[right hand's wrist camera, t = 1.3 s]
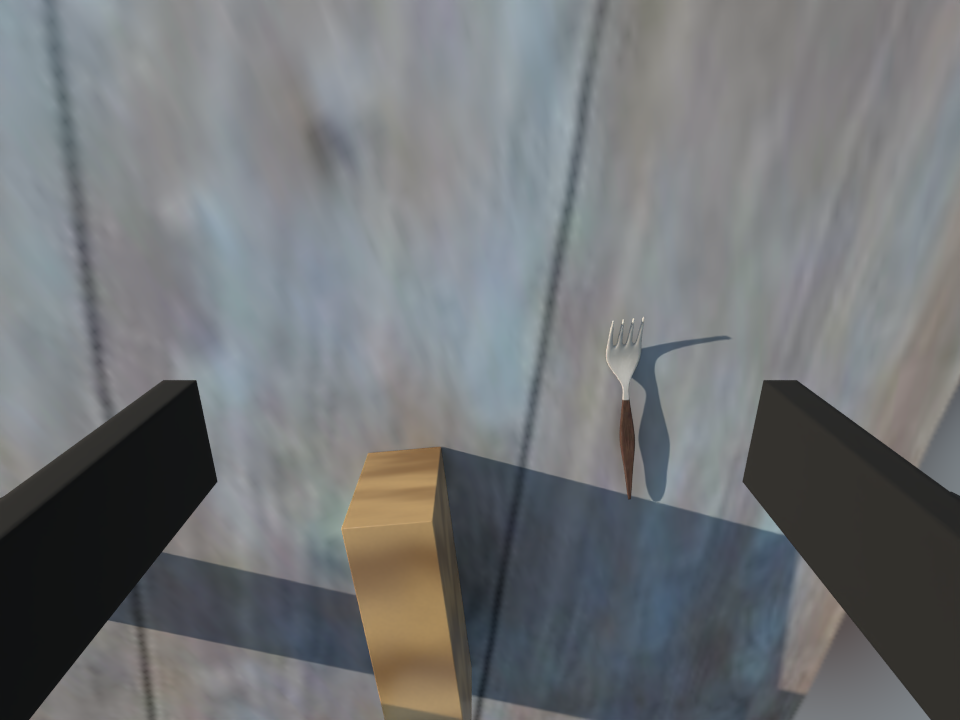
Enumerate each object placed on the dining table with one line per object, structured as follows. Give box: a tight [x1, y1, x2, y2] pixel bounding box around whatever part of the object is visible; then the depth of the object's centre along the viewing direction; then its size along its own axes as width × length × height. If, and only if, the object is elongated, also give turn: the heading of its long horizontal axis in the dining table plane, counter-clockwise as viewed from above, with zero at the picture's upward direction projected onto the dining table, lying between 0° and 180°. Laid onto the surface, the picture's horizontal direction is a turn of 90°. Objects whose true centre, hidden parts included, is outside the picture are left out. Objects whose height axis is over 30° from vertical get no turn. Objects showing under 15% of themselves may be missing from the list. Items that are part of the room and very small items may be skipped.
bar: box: [342, 447, 472, 720], centre depth 43 cm, size 24×6×9 cm, turn 5°
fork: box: [606, 317, 645, 500], centre depth 41 cm, size 3×16×2 cm, turn 7°
